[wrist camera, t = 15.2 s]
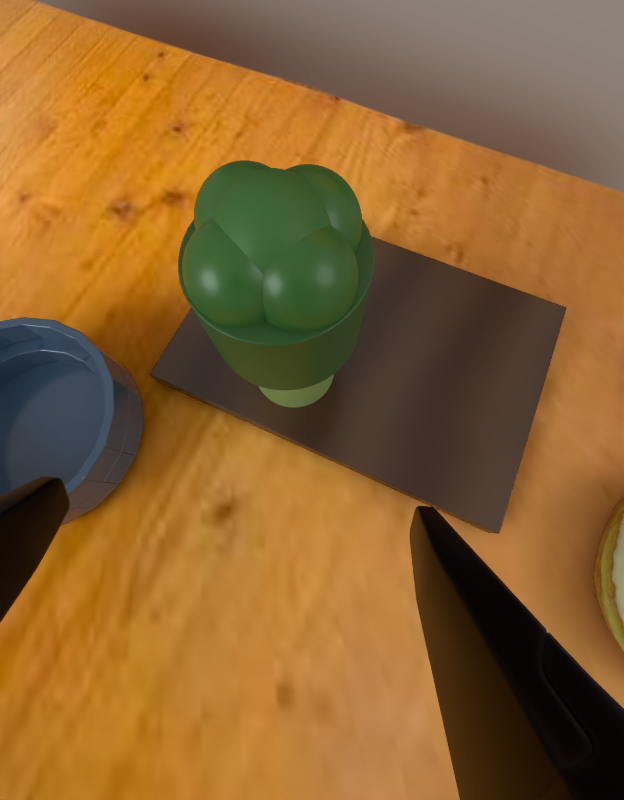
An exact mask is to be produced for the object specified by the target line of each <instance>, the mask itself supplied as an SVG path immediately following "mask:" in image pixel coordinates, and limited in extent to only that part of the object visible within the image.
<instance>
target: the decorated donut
mask: <svg viewBox="0 0 624 800" xmlns="http://www.w3.org/2000/svg"><path fill="white" fill-rule="evenodd" d="M594 583H595V588H596V592H597V595H596V596H595V597H597V598H598V600H597V601H598V602H599V604H600V609H601V610H602V614H603V617H604V619H605V621H606V624H607V626H608V628H609V631H610V633H611V634H612V636H613V638H614V639H615V641H616V642H617V644H618V645H619V647H620V648H621V650H622V651H623V653H624V500H623V501H620V502H619V503H618V504H617V505H616V507H615V508H614V511H613V513H612V515H611V517H610V520H609V522H608V525H607V527H606V528H605V530H604V531H603V536H602V538H601V541H600V545H599V548H598V553H597V557H596V565H595V570H594Z"/></svg>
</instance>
